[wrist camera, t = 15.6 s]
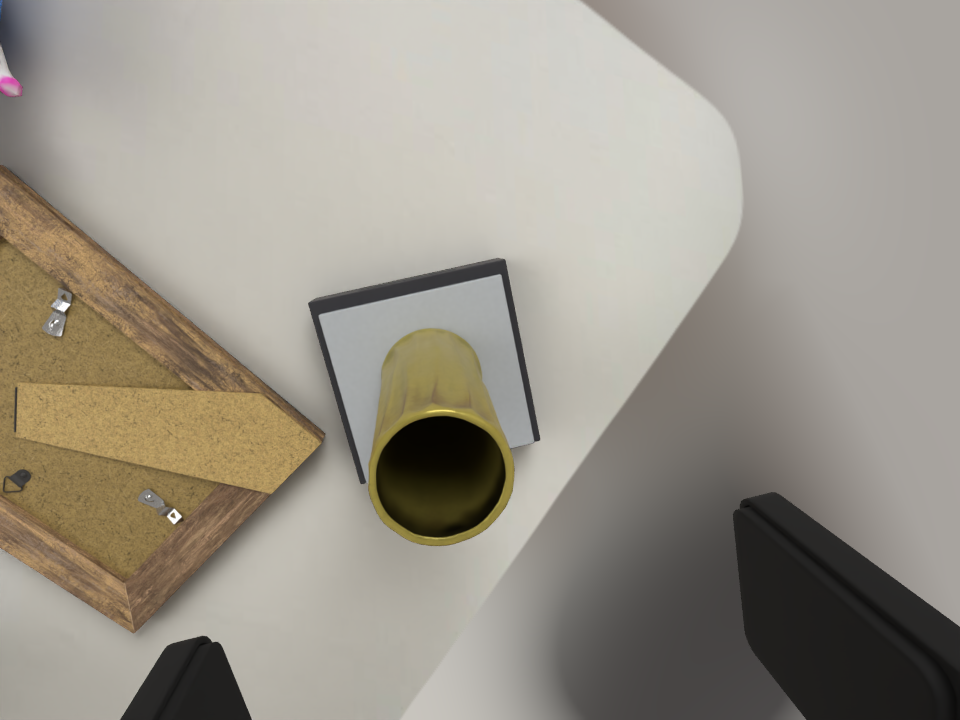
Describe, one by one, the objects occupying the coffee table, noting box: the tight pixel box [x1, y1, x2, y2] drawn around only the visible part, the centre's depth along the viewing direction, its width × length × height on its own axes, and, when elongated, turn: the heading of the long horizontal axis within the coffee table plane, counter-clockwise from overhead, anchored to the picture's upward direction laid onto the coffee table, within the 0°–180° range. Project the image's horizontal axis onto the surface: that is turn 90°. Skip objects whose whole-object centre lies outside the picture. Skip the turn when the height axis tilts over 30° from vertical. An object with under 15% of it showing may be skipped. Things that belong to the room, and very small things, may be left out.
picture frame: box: [0, 165, 325, 633], centre depth 32 cm, size 19×2×24 cm
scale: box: [308, 258, 540, 484], centre depth 34 cm, size 12×12×3 cm
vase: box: [368, 328, 514, 546], centre depth 25 cm, size 6×6×14 cm
